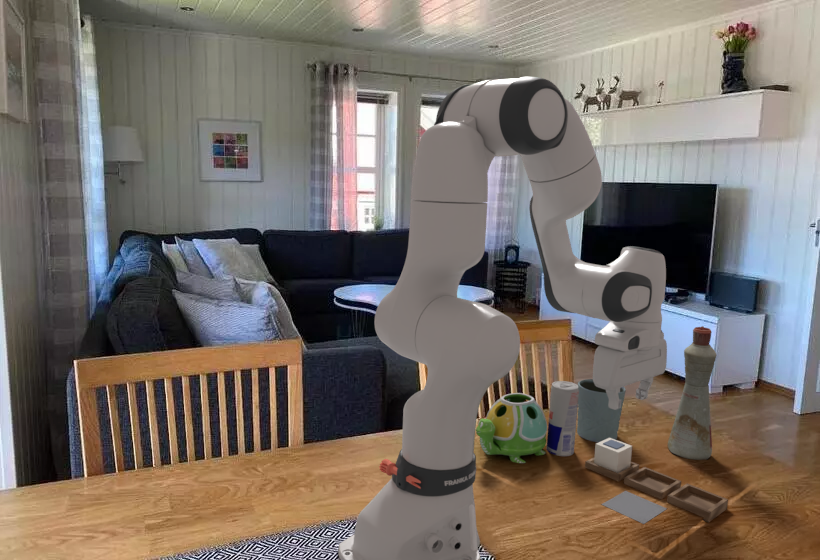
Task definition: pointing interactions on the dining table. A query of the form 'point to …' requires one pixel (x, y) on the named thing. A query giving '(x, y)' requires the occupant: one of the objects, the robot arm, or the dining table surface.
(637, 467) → the tray
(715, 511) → the tray
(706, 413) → the bottle
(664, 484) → the tray
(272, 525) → the dining table surface
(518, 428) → the turtle holder
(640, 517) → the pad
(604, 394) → the blue-grey plant pot
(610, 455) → the white cube
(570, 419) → the beverage can
